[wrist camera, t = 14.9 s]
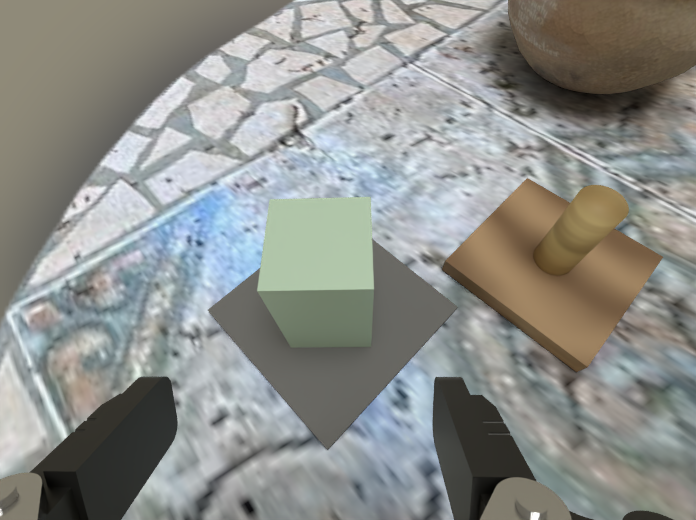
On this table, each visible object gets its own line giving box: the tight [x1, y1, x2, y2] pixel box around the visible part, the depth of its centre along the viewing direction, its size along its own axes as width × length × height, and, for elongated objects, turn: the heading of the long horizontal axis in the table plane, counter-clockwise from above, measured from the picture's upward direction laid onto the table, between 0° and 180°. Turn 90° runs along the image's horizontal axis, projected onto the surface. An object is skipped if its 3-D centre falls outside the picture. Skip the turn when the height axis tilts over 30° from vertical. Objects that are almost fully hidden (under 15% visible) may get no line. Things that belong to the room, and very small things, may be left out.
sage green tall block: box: [257, 197, 374, 348], centre depth 25 cm, size 6×6×10 cm
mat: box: [208, 239, 457, 450], centre depth 29 cm, size 14×14×1 cm
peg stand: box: [442, 178, 663, 372], centre depth 27 cm, size 12×12×8 cm
